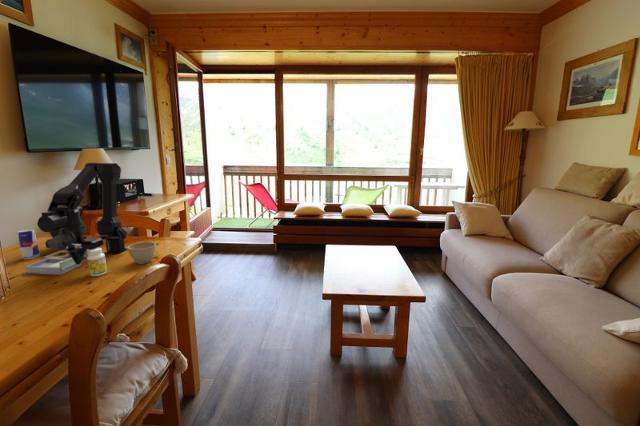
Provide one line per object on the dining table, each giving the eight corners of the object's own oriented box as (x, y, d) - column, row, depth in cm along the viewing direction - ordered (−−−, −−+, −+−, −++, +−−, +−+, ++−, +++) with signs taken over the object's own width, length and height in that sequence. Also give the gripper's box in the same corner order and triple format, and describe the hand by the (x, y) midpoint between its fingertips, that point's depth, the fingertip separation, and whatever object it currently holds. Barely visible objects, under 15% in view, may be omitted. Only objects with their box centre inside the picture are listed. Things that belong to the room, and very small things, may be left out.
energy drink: (29, 260, 127) (23, 232, 125) (19, 259, 129) (13, 231, 126) (43, 255, 133) (37, 229, 130) (33, 254, 134) (27, 228, 131)
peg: (90, 256, 132) (88, 244, 131) (83, 259, 129) (81, 247, 127) (83, 256, 132) (80, 244, 131) (76, 259, 129) (73, 246, 128)
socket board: (78, 256, 132) (77, 251, 131) (61, 263, 124) (60, 258, 123) (61, 256, 132) (60, 250, 132) (43, 263, 125) (42, 257, 124)
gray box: (81, 265, 123) (80, 259, 122) (60, 274, 114) (59, 268, 113) (49, 263, 124) (48, 257, 124) (26, 273, 115) (24, 266, 115)
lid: (78, 262, 121) (77, 256, 121) (62, 269, 115) (60, 263, 114) (62, 262, 122) (61, 255, 122) (45, 269, 115) (44, 262, 115)
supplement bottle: (110, 271, 117) (107, 247, 115) (97, 277, 112) (93, 252, 110) (100, 269, 119) (96, 246, 116) (86, 275, 114) (82, 250, 111)
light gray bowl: (161, 261, 127) (159, 245, 126) (134, 268, 120) (132, 251, 119) (152, 255, 134) (150, 240, 132) (126, 261, 127) (124, 245, 125)
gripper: (26, 229, 107) (35, 271, 110) (76, 231, 105) (83, 273, 109) (56, 221, 118) (63, 260, 121) (101, 223, 116) (107, 262, 120)
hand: (78, 264), depth 118 cm, fingers closed
